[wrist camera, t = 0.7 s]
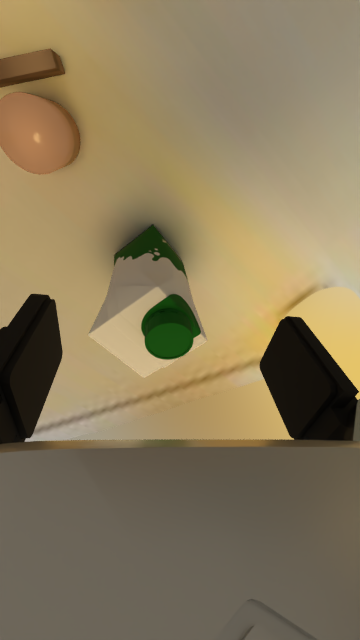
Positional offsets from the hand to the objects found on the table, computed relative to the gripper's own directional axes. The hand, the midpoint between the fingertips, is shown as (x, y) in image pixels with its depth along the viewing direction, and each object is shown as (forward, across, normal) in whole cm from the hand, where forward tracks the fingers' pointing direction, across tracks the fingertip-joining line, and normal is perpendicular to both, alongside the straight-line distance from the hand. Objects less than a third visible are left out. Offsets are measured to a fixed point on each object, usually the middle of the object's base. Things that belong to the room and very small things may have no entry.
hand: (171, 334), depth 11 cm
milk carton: (+27, 0, +9) cm, 29 cm away
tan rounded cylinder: (+27, +12, -4) cm, 30 cm away
